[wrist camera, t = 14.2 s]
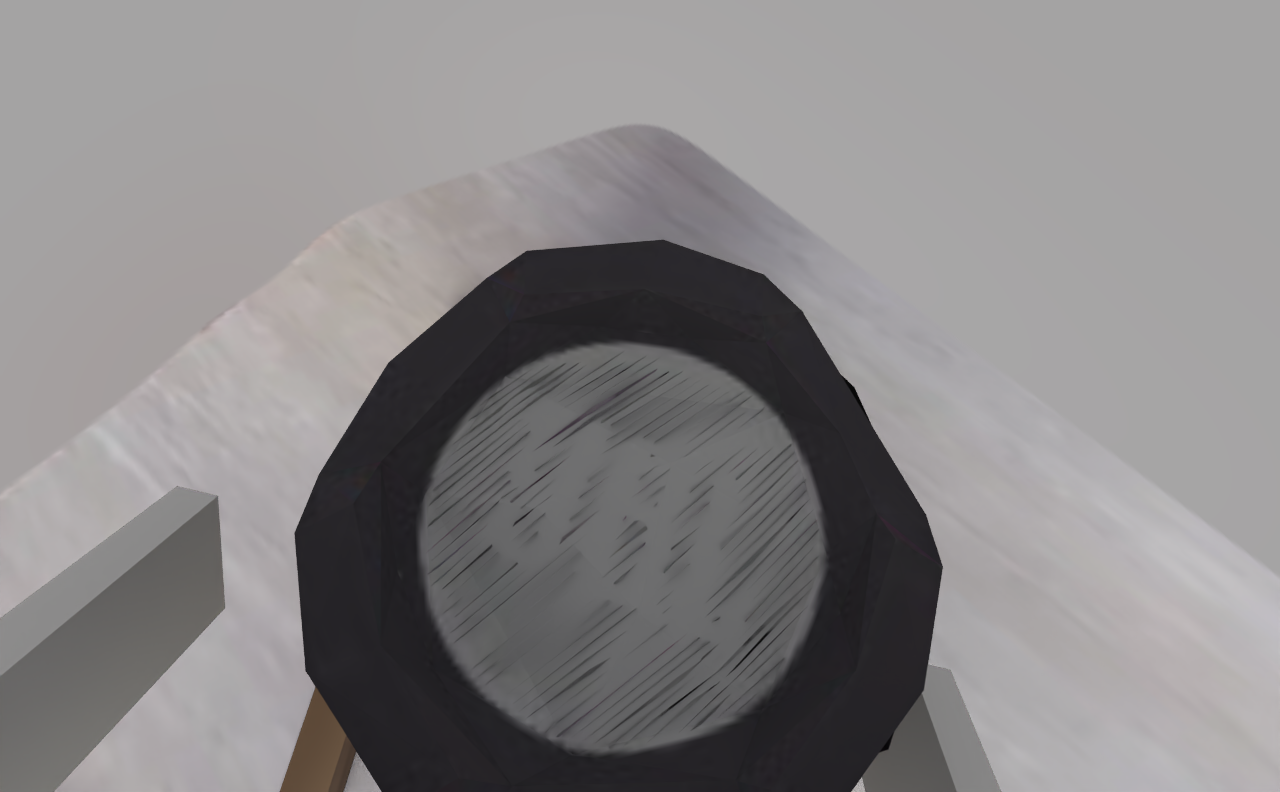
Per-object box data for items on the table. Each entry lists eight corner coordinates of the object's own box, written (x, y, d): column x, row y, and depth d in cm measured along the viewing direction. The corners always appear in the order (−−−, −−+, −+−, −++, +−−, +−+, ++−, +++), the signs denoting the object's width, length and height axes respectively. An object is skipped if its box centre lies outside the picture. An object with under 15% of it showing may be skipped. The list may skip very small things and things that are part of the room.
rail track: (826, 432, 30) (845, 418, 28) (713, 1358, 20) (729, 1443, 18) (444, 344, 29) (434, 323, 27) (143, 1242, 20) (92, 1315, 18)
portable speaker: (464, 709, 25) (125, 974, 6) (503, 462, 28) (352, 145, 9) (694, 729, 25) (1014, 1027, 7) (707, 483, 28) (952, 222, 10)
